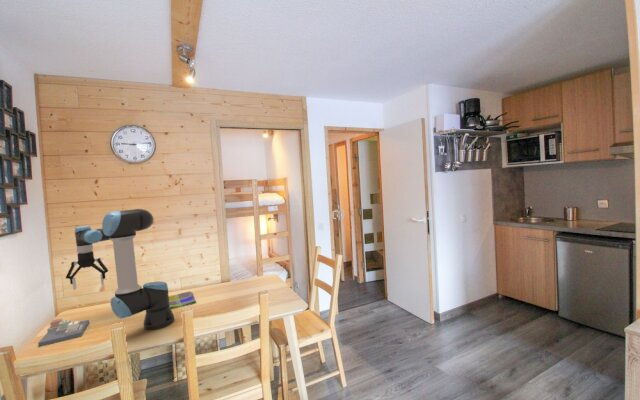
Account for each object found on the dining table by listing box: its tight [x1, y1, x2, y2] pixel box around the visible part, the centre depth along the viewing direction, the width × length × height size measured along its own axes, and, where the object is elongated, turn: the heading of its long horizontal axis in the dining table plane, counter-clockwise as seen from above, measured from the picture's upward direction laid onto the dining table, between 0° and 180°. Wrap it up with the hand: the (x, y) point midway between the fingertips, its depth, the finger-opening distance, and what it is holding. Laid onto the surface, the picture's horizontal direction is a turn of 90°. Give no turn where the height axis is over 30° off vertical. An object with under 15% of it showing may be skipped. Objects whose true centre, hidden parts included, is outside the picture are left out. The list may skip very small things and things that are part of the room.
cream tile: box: [68, 320, 80, 331], centre depth 158 cm, size 4×4×3 cm
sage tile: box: [59, 319, 72, 330], centre depth 161 cm, size 4×4×3 cm
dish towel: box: [169, 290, 197, 310], centre depth 198 cm, size 18×24×3 cm
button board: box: [37, 319, 90, 348], centre depth 161 cm, size 20×17×4 cm
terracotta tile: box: [49, 317, 63, 328], centre depth 164 cm, size 4×4×3 cm
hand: (89, 286), depth 178 cm, fingers open, 13 cm apart
